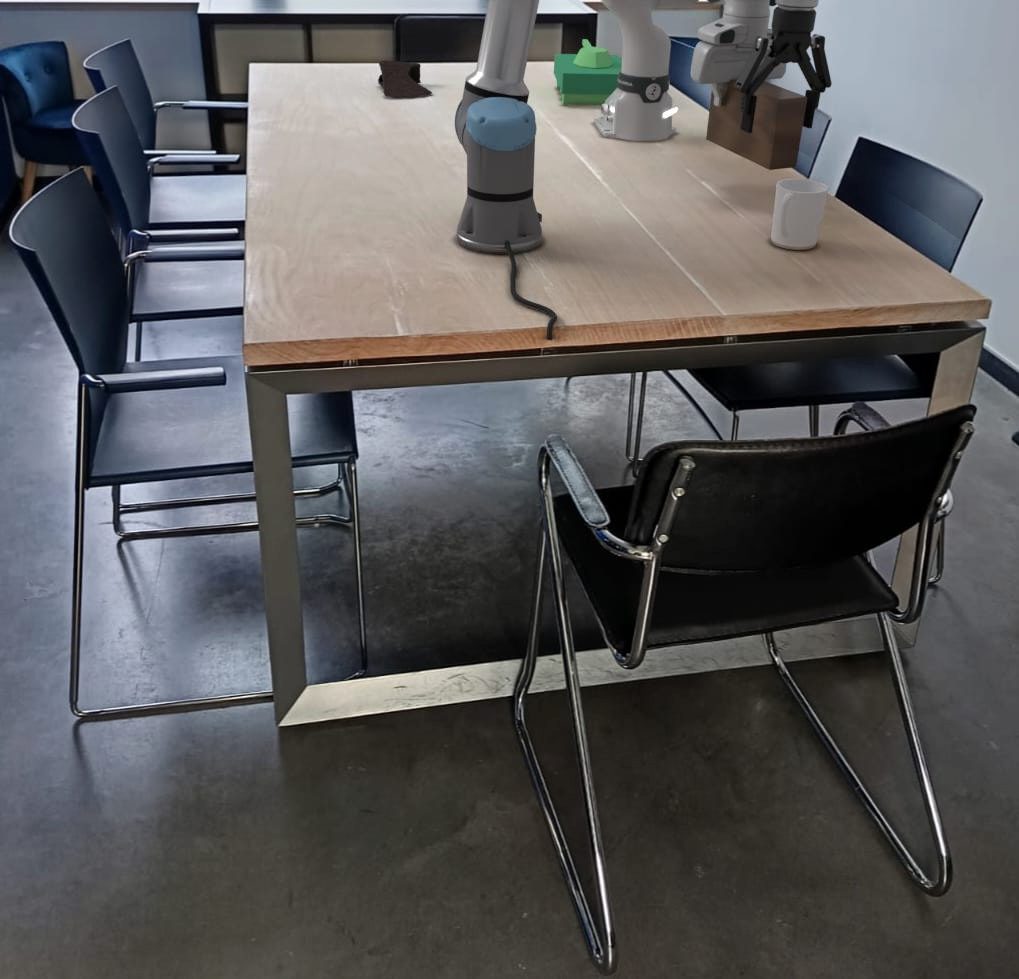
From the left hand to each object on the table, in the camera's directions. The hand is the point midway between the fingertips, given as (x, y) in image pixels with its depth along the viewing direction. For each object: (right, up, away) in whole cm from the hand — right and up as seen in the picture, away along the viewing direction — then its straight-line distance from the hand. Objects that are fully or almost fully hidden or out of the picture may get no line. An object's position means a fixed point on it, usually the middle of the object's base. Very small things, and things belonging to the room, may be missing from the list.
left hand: (776, 129), depth 207 cm
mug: (0, -24, -10) cm, 26 cm away
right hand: (-5, +9, +11) cm, 15 cm away
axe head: (-80, +41, +93) cm, 129 cm away
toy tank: (-29, +41, +95) cm, 107 cm away
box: (-3, -1, +10) cm, 11 cm away
